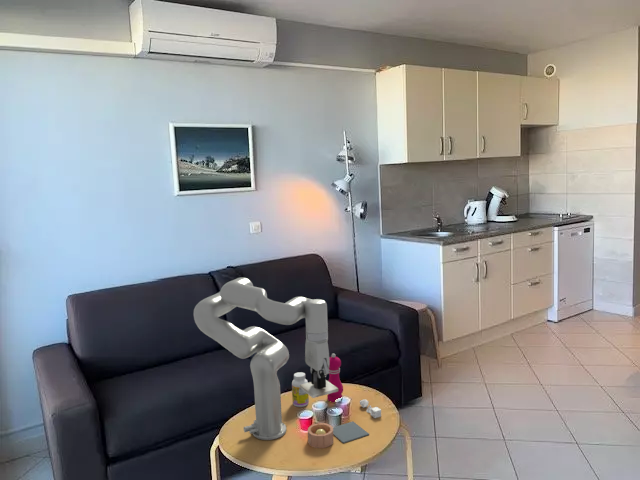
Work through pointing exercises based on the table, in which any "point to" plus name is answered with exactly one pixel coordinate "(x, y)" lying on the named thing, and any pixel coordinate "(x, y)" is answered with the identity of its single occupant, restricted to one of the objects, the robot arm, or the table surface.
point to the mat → (349, 432)
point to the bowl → (320, 435)
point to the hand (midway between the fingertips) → (318, 385)
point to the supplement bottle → (299, 390)
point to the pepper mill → (334, 377)
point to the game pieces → (371, 409)
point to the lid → (314, 391)
